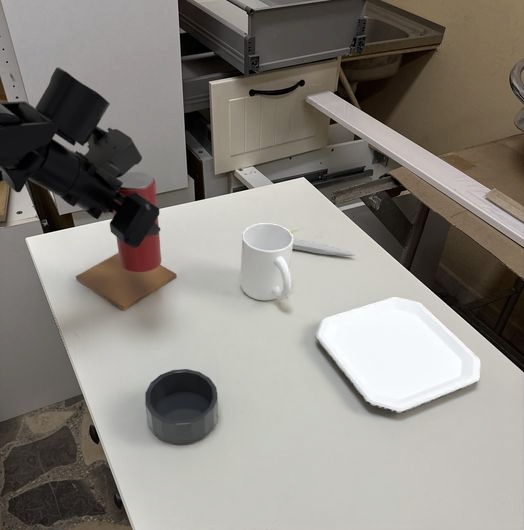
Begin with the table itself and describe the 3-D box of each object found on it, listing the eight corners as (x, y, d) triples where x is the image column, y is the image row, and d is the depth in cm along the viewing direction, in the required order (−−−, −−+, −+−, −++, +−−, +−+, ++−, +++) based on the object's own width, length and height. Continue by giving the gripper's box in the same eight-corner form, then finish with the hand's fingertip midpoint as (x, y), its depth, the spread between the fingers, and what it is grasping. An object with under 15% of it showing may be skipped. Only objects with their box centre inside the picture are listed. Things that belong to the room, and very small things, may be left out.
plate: (406, 300, 91) (409, 290, 90) (490, 382, 79) (496, 372, 77) (304, 332, 84) (305, 322, 83) (378, 428, 71) (382, 418, 70)
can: (138, 276, 79) (129, 192, 71) (111, 261, 82) (99, 179, 74) (169, 261, 83) (164, 180, 75) (142, 247, 86) (134, 167, 78)
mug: (306, 308, 88) (315, 257, 81) (263, 321, 85) (267, 269, 78) (273, 268, 96) (278, 218, 88) (232, 279, 93) (233, 228, 85)
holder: (148, 448, 67) (145, 427, 64) (148, 393, 73) (145, 371, 70) (220, 441, 68) (220, 420, 65) (213, 388, 75) (213, 366, 72)
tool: (354, 257, 100) (356, 248, 98) (353, 262, 99) (355, 253, 97) (266, 240, 102) (267, 232, 100) (264, 245, 101) (265, 236, 99)
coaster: (124, 310, 85) (123, 307, 84) (76, 279, 90) (75, 276, 89) (176, 277, 92) (176, 273, 91) (129, 250, 97) (129, 246, 96)
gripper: (139, 144, 61) (213, 202, 74) (60, 93, 70) (139, 153, 83) (89, 225, 62) (171, 267, 75) (18, 166, 71) (102, 213, 85)
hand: (145, 221), depth 80 cm, fingers closed on can, 6 cm apart
